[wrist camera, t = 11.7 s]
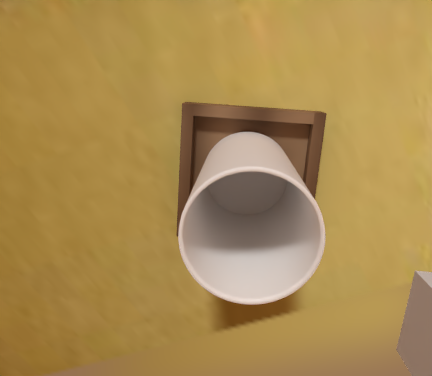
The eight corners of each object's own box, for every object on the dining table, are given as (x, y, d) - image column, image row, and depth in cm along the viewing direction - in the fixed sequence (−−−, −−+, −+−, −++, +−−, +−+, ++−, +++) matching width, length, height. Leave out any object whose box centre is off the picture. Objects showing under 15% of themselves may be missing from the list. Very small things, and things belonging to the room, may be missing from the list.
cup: (198, 209, 38) (169, 293, 23) (209, 125, 36) (186, 156, 21) (281, 221, 38) (309, 315, 23) (298, 138, 36) (341, 179, 21)
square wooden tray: (180, 227, 40) (176, 236, 38) (185, 102, 37) (182, 103, 34) (304, 238, 39) (307, 247, 37) (321, 111, 36) (326, 113, 34)
